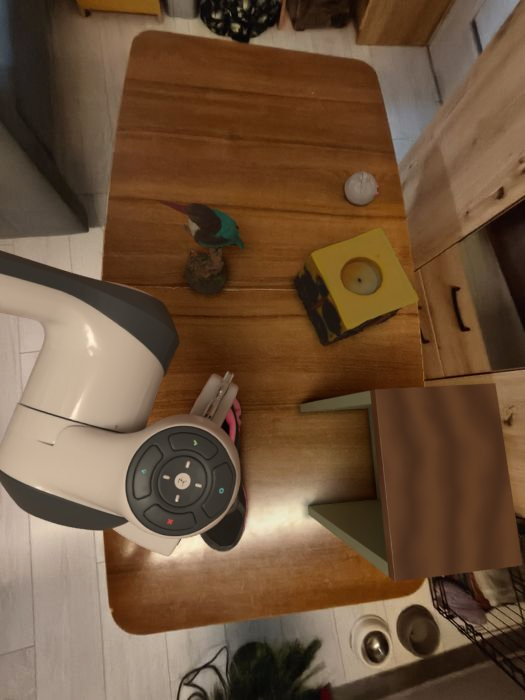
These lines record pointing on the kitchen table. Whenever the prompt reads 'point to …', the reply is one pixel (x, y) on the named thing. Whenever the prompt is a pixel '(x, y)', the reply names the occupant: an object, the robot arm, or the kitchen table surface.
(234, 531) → the running shoe
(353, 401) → the dark grey angular piece
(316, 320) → the candle
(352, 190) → the garlic bulb
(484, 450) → the board
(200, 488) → the robot arm
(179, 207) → the sculpture
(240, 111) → the kitchen table surface
